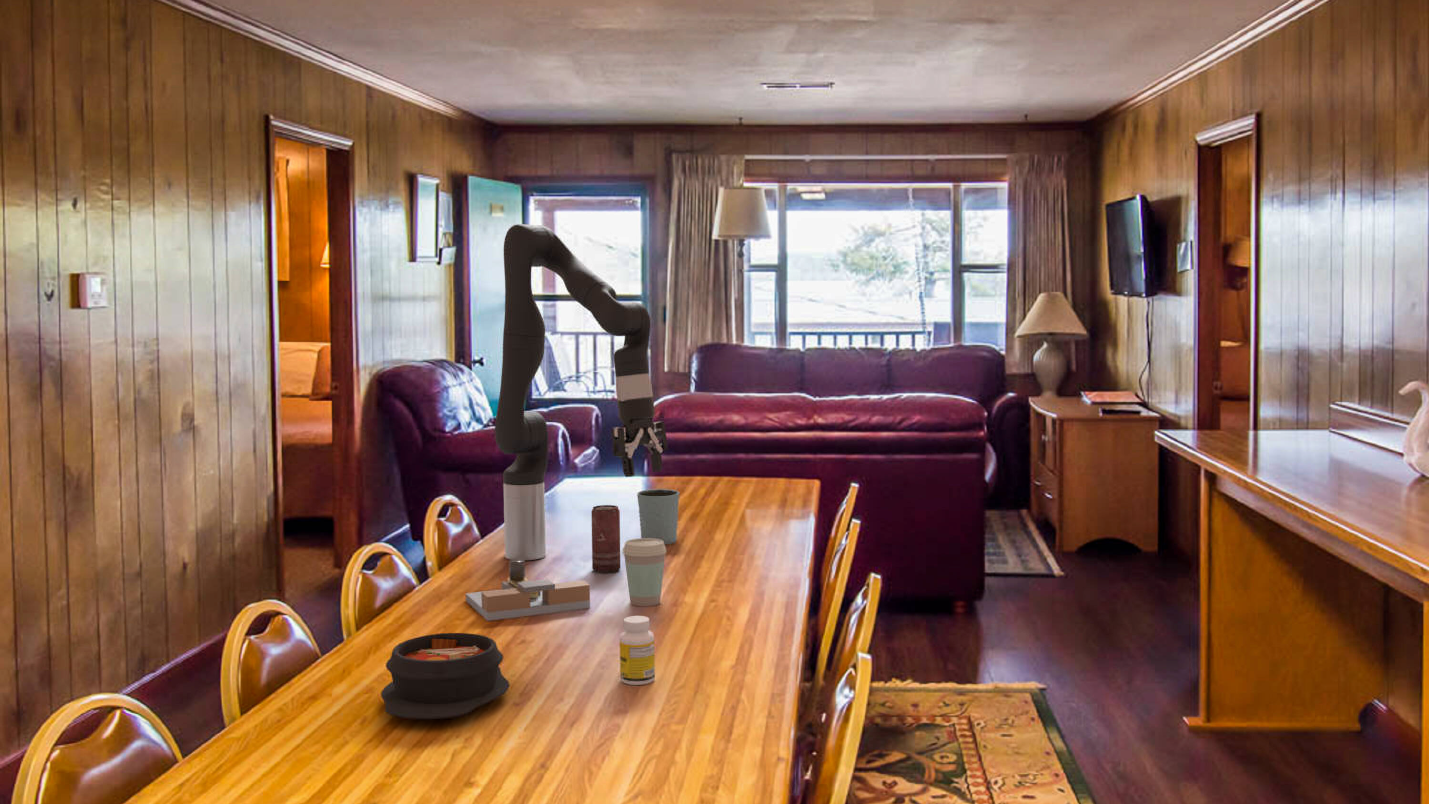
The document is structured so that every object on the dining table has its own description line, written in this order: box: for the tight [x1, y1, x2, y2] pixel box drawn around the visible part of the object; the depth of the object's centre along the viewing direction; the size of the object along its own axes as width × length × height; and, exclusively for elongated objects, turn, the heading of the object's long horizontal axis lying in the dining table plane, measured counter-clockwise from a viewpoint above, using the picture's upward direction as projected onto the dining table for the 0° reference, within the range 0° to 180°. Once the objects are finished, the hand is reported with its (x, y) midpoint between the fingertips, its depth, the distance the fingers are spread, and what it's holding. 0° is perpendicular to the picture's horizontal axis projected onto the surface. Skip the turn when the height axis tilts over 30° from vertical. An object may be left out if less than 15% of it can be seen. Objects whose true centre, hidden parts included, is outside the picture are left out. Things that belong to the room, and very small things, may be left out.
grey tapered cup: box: [636, 488, 680, 545], centre depth 291 cm, size 10×10×12 cm
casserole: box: [380, 632, 510, 720], centre depth 178 cm, size 25×19×8 cm
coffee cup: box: [622, 537, 667, 607], centre depth 234 cm, size 8×8×12 cm
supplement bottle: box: [619, 615, 656, 686], centre depth 187 cm, size 5×5×10 cm
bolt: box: [506, 560, 538, 598], centre depth 236 cm, size 10×3×6 cm, turn 26°
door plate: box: [465, 578, 591, 622], centre depth 233 cm, size 16×20×6 cm
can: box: [591, 504, 621, 574], centre depth 261 cm, size 6×6×14 cm
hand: (643, 473), depth 252 cm, fingers open, 8 cm apart
